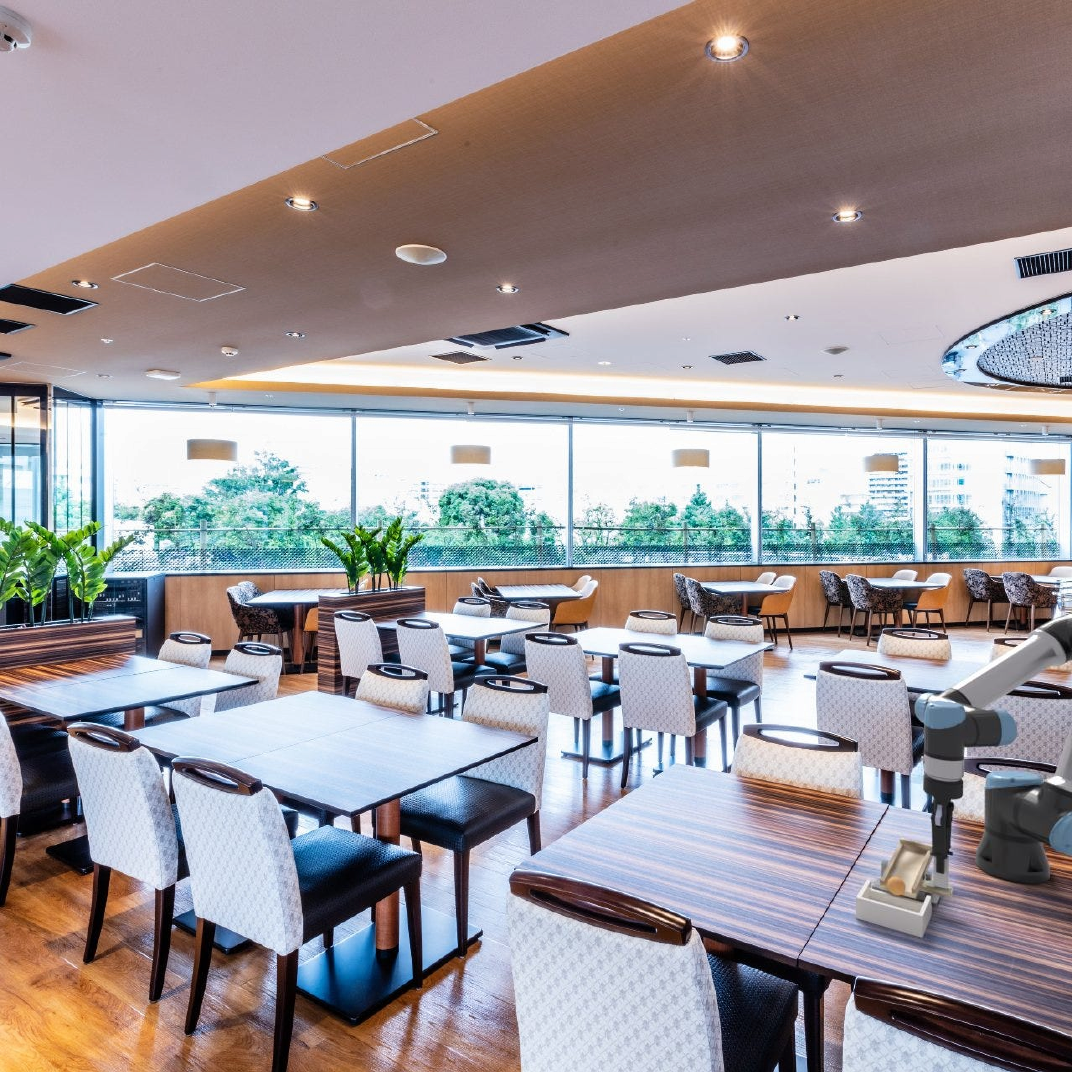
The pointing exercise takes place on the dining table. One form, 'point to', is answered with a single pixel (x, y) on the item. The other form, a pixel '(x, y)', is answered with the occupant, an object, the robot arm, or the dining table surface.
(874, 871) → the dining table surface
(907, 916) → the dish
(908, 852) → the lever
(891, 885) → the ball
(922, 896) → the stand
